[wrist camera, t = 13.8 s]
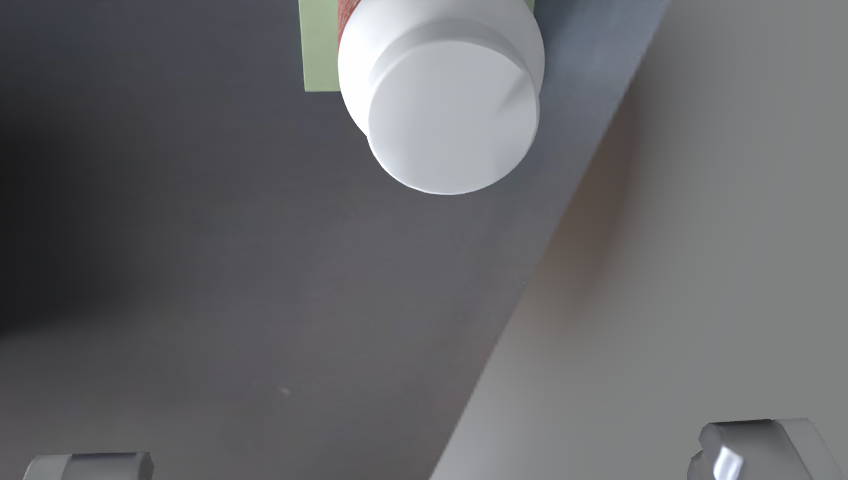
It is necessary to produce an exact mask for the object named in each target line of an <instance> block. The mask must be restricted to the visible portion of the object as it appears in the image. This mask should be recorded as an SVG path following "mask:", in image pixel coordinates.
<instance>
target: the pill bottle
mask: <svg viewBox="0 0 848 480" xmlns="http://www.w3.org/2000/svg"><path fill="white" fill-rule="evenodd" d="M544 69H545V54H544V45H543V40H542V36H541V33H540V30H539V27H538V24H537V22H536V20H535V17H534V15H533V13H532V11H531V9H530V7H529V6H528V4H527V2H526V1H525V0H338V72H339V82H340V88H341V92H342V95H343V98H344V101H345V104H346V106H347V109H348V111H349V113H350V115H351V116H352V118H353V119H354V121H355V122H356V124H357V125H358V127H359V128H360V129H361V130H362V131H363V132H364V133H365V134H366V135H367V138H368V142H369V145H370V147H371V150H372V152H373V154H374V155H375V157H376V159H377V160H378V161H379V163H380V164H381V166H382V167H383V168H384V169H385V170H386V171H387V172H388V173H389V174H390V175H391V176H393V177H394V178H395V179H397V180H398V181H400V182H401V183H403V184H405V185H407V186H409V187H411V188H414V189H417V190H420V191H423V192H426V193H433V194H444V195H453V194H463V193H468V192H472V191H476V190H479V189H482V188H484V187H486V186H489V185H491V184H493V183H495V182H496V181H498V180H499V179H501V178H502V177H504V176H506V175H507V174H508V173H509V172H510V171H511V170H513V169H514V168H515V167H516V166H517V165H518V163H519V162H520V161H521V160H522V159H523V158H524V156H525V155H526V153H527V152H528V150H529V148H530V146H531V145H532V143H533V141H534V138H535V135H536V132H537V129H538V123H539V114H540V106H539V98H538V95H539V92H540V89H541V86H542V82H543V77H544Z"/></svg>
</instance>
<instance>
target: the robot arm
mask: <svg viewBox="0 0 848 480" xmlns="http://www.w3.org/2000/svg"><path fill="white" fill-rule="evenodd" d="M699 441H700V443H701V446H702V448H703V450H702V451H700V452H699V453H697V454H696V455H695V456H694V457H692V459H691V462H690V465H689V469H688V472H687V476H688V477H687V479H688V480H848V479H847V477H846V476H845V474H844V473H843V471H842V469H841V467H840V466H839V464H838V463H837V461H836V459H835V457H834V456H833V454H832V453H831V451H830V449H829V448H828V446H827V444H826V443H825V441H824V439H823V438H822V436H821V434H820V433H819V431H818V430H817V428H816V426H815V424H814V423H813V422H811V421H810V420H809V419H807V418H794V419H778V420H770V419H763V420H747V421H733V422H732V421H731V422H718V423H717V422H716V423H708V424H707V425H706V426H704V427H703V429H702V431H701V434H700V437H699ZM153 469H154V465H153V462H152V459H151V456H150V453H149V452H136V453H96V454H62V455H38V456H36V457H35V459H34V460H33V461H32V462H31V464H30V465H29V466H28V468H27V471H26V474H25V476H24V479H23V480H151V479H152V474H153Z"/></svg>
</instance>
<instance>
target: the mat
mask: <svg viewBox="0 0 848 480" xmlns="http://www.w3.org/2000/svg"><path fill="white" fill-rule="evenodd" d="M525 1H526V2H527V4H528V6H529V7H530V9H531V11H532V13H534V4H535V0H525ZM299 11H300V26H301V41H302V55H303V70H304V85H305V91H341V88H340V82H339V72H338V0H299Z"/></svg>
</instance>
